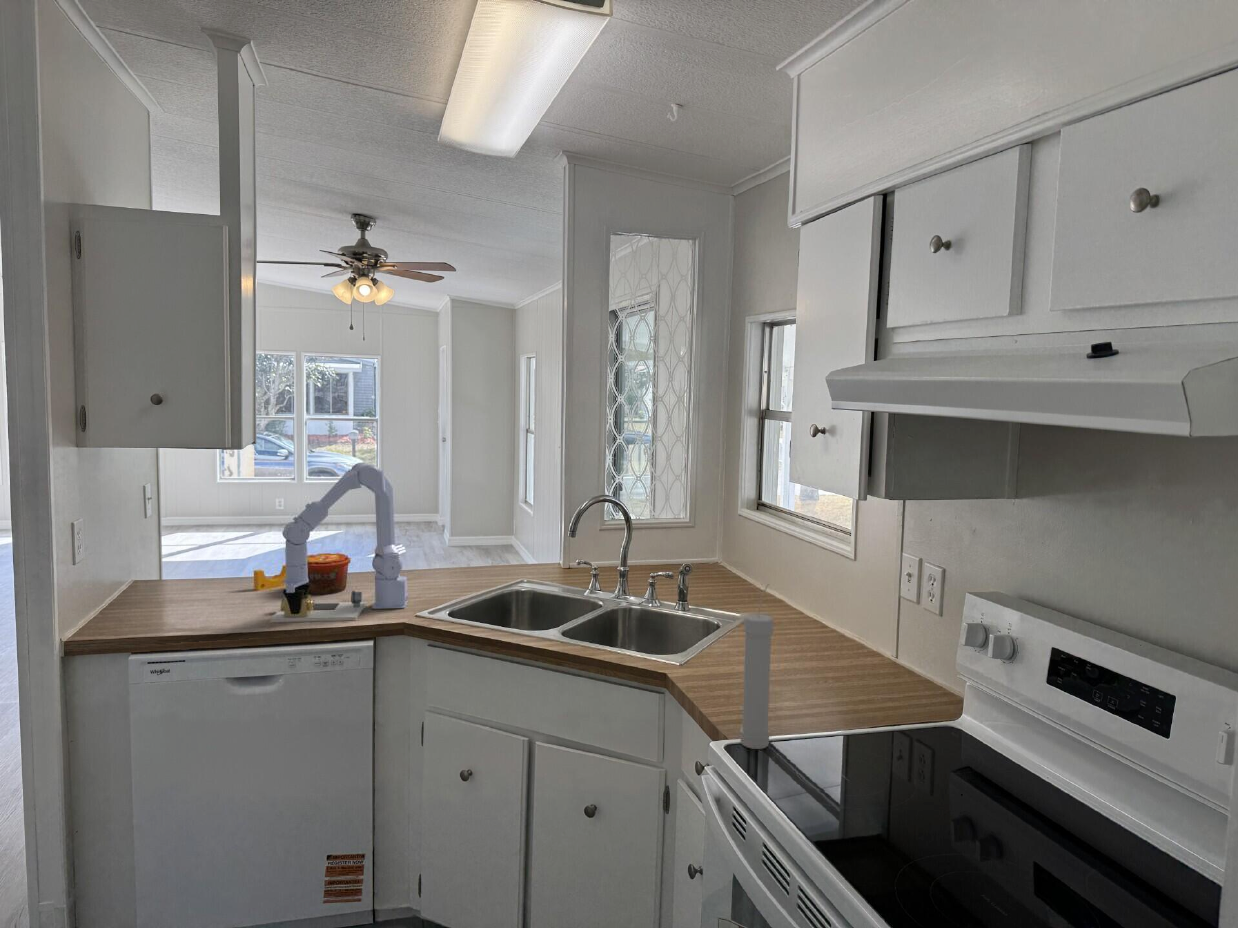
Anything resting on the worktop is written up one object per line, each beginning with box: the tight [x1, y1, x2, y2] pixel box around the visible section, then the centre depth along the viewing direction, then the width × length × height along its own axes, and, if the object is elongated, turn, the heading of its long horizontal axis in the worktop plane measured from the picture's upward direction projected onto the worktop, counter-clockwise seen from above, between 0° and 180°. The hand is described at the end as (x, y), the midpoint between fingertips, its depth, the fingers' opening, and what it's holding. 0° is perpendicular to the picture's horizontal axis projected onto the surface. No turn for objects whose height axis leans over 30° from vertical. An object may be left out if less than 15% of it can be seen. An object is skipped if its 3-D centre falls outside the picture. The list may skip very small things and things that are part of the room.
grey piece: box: [739, 583, 774, 750], centre depth 147 cm, size 6×6×30 cm
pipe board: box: [270, 590, 367, 623], centre depth 229 cm, size 23×16×6 cm
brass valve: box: [280, 594, 315, 617], centre depth 224 cm, size 8×4×5 cm, turn 98°
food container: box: [307, 552, 351, 595], centre depth 256 cm, size 16×16×11 cm
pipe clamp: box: [253, 564, 286, 592], centre depth 260 cm, size 12×4×6 cm, turn 145°
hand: (297, 611), depth 224 cm, fingers closed on brass valve, 4 cm apart
